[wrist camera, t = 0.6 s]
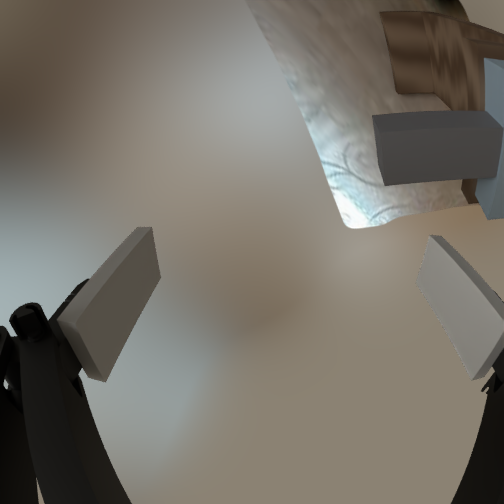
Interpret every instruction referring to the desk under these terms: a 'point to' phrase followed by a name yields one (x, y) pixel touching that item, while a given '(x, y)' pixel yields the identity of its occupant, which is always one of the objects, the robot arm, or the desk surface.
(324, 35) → the desk surface
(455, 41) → the shelf stand
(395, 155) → the grey toy mallet
